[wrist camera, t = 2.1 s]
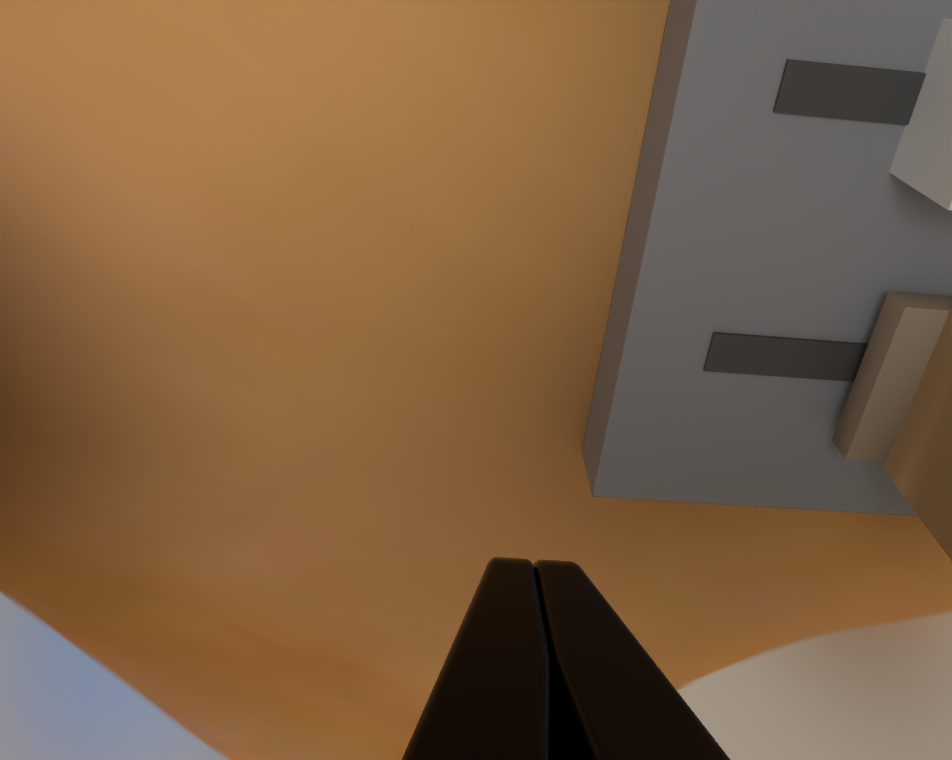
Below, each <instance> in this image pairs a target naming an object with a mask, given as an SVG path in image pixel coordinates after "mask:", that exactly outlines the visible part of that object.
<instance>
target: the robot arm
mask: <svg viewBox="0 0 952 760" xmlns="http://www.w3.org/2000/svg"><path fill="white" fill-rule="evenodd" d="M402 760H730V759H729V757H728V756H727V755H726V754H725V752H724V751H723V750H722V749H721V747H720V746H719V745H718V743H717V742H716V741H715V739H714V738H713V737H712V736H711V734H710V733H709V732H708V731H707V729H706V728H705V727H704V725H703V724H702V723H701V722H700V720H699V719H698V718H697V716H696V715H695V714H694V713H693V711H692V710H691V709H690V707H689V706H688V705H687V704H686V702H685V701H684V700H683V699H682V697H681V696H680V695H679V693H678V692H677V691H676V689H675V688H674V687H673V686H672V684H671V683H670V682H669V680H668V679H667V678H666V677H665V675H664V674H663V673H662V671H661V670H660V669H659V668H658V666H657V665H656V664H655V662H654V661H653V660H652V659H651V657H650V656H649V655H648V654H647V652H646V651H645V650H644V648H643V647H642V646H641V645H640V643H639V642H638V641H637V639H636V638H635V637H634V636H633V634H632V633H631V632H630V630H629V629H628V628H627V627H626V625H625V624H624V623H623V621H622V620H621V619H620V618H619V616H618V615H617V614H616V612H615V611H614V610H613V609H612V607H611V606H610V605H609V603H608V602H607V601H606V600H605V598H604V597H603V596H602V595H601V593H600V592H599V591H598V589H597V588H596V587H595V586H594V584H593V583H592V582H591V580H590V579H589V578H588V577H587V575H586V574H585V573H584V571H583V570H582V569H581V568H580V567H579V566H578V565H577V564H576V563H574V562H570V561H554V560H538V561H537V562H535V563H534V565H533V564H532V563H531V561H529V560H528V559H520V558H502V557H494V558H492V559H491V560H490V561H489V563H488V565H487V567H486V569H485V571H484V574H483V576H482V578H481V580H480V583H479V585H478V587H477V590H476V592H475V594H474V596H473V599H472V601H471V603H470V606H469V608H468V610H467V612H466V615H465V617H464V619H463V621H462V624H461V626H460V628H459V631H458V633H457V635H456V637H455V640H454V642H453V644H452V647H451V649H450V651H449V653H448V656H447V658H446V660H445V662H444V665H443V667H442V669H441V672H440V674H439V676H438V678H437V681H436V683H435V685H434V687H433V690H432V692H431V694H430V697H429V699H428V701H427V703H426V706H425V708H424V710H423V713H422V715H421V717H420V719H419V722H418V724H417V726H416V728H415V731H414V733H413V735H412V738H411V740H410V742H409V744H408V747H407V749H406V751H405V754H404V756H403V758H402Z"/></svg>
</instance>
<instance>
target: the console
mask: <svg viewBox="0 0 952 760" xmlns="http://www.w3.org/2000/svg"><path fill="white" fill-rule="evenodd" d="M888 292H901V293H913V294H926V295H938V296H951V297H952V0H670V5H669V10H668V16H667V21H666V26H665V31H664V36H663V41H662V46H661V51H660V56H659V62H658V67H657V72H656V77H655V82H654V87H653V92H652V97H651V102H650V108H649V113H648V118H647V123H646V128H645V133H644V138H643V143H642V148H641V154H640V159H639V164H638V169H637V174H636V179H635V184H634V189H633V194H632V200H631V205H630V210H629V215H628V220H627V225H626V230H625V235H624V240H623V246H622V251H621V256H620V261H619V266H618V271H617V276H616V281H615V286H614V292H613V297H612V302H611V307H610V312H609V317H608V322H607V327H606V332H605V338H604V343H603V348H602V353H601V358H600V363H599V368H598V373H597V378H596V384H595V389H594V394H593V399H592V404H591V409H590V414H589V419H588V424H587V430H586V435H585V440H584V445H583V450H582V453H583V457H584V462H585V466H586V470H587V475H588V479H589V483H590V488H591V492H592V496H594V497H611V498H628V499H644V500H661V501H677V502H694V503H710V504H727V505H743V506H760V507H777V508H793V509H810V510H826V511H843V512H859V513H876V514H892V515H909V516H918V515H917V514H916V512H915V511H914V510H913V508H912V507H911V506H910V504H909V503H908V502H907V500H906V499H905V498H904V496H903V495H902V494H901V492H900V491H899V490H898V488H897V487H896V486H895V484H894V483H893V481H892V480H891V479H890V477H889V476H888V475H887V473H886V472H885V471H884V469H883V467H884V464H885V462H882V461H867V460H851V459H845V458H844V457H843V455H842V454H841V452H840V451H839V449H838V448H837V447H836V445H835V444H834V442H833V441H832V438H833V436H834V433H835V430H836V428H837V425H838V422H839V420H840V417H841V415H842V412H843V409H844V407H845V404H846V401H847V399H848V396H849V393H850V391H851V388H852V386H853V383H854V380H855V378H856V375H857V372H858V370H859V367H860V364H861V362H862V359H863V357H864V354H865V351H866V349H867V346H868V343H869V341H870V338H871V336H872V333H873V330H874V328H875V325H876V322H877V320H878V317H879V314H880V312H881V309H882V307H883V304H884V301H885V299H886V296H887V293H888Z"/></svg>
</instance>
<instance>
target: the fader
mask: <svg viewBox="0 0 952 760" xmlns="http://www.w3.org/2000/svg"><path fill="white" fill-rule="evenodd" d="M832 441H833V442H834V444H835V445H836V447H837V448H838V449H839V451H840V452H841V454H842V455H843V457H844V458H845V459H851V460H867V461H882V462H885V464H884V467H883V469H884V471H885V472H886V473H887V475H888V476H889V477H890V479H891V480H892V481H893V483H894V484H895V486H896V487H897V488H898V490H899V491H900V492H901V494H902V495H903V496H904V498H905V499H906V500H907V502H908V503H909V504H910V506H911V507H912V508H913V510H914V511H915V512H916V514H917V515H918V516H919V518H920V519H921V520H922V522H923V523H924V524H925V526H926V527H927V528H928V530H929V531H930V532H931V534H932V535H933V536H934V538H935V539H936V540H937V542H938V543H939V544H940V546H941V547H942V548H943V550H944V551H945V552H946V554H947V555H948V556H949V558H950V559H951V560H952V297H951V296H938V295H926V294H913V293H901V292H888V293H887V296H886V299H885V301H884V304H883V307H882V309H881V312H880V314H879V317H878V320H877V322H876V325H875V328H874V330H873V333H872V336H871V338H870V341H869V343H868V346H867V349H866V351H865V354H864V357H863V359H862V362H861V364H860V367H859V370H858V372H857V375H856V378H855V380H854V383H853V386H852V388H851V391H850V393H849V396H848V399H847V401H846V404H845V407H844V409H843V412H842V415H841V417H840V420H839V422H838V425H837V428H836V430H835V433H834V436H833V438H832Z"/></svg>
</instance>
